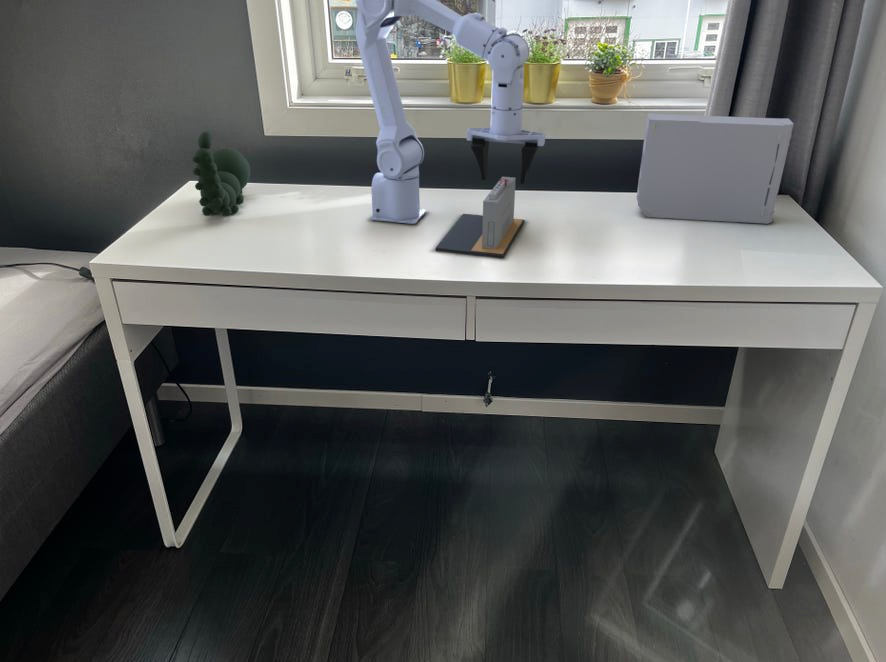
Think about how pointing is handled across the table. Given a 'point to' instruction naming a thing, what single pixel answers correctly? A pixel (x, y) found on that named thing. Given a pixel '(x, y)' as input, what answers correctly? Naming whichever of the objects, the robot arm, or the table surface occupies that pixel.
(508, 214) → the cassette player
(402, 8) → the robot arm
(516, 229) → the desk mat
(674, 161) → the game console
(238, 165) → the toy figurine
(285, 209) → the table surface
